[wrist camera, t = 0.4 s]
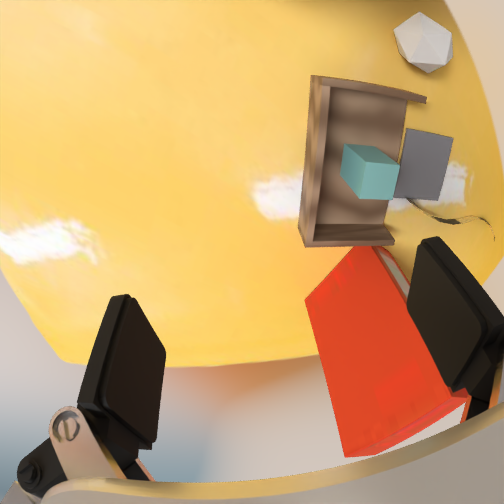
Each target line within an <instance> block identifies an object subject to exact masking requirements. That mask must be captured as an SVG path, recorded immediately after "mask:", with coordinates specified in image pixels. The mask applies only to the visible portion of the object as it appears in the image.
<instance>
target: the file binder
mask: <svg viewBox="0 0 504 504" xmlns="http://www.w3.org/2000/svg"><path fill="white" fill-rule="evenodd" d="M409 288H410V283H409V281H408V280H407V278H406V276H405V275H404V273H403V272H402V270H401V269H400V267H399V266H398V264H397V263H396V261H395V260H394V258H393V257H392V255H391V254H390V253H389V251H387V250H386V249H384V248H383V247H381V246H354V247H353V248H352V249H351V250H350V252H349V253H348V254H347V255H346V256H345V257H344V258H343V259H342V261H341V262H340V263H339V264H338V265H337V266H336V267H335V268H334V269H333V270H332V271H331V273H330V274H329V275H328V276H327V277H326V278H325V279H324V280H323V281H322V282H321V283H320V284H319V285H318V287H317V288H316V289H315V290H314V291H313V292H312V293H311V294H310V295H309V296H308V297H307V298H306V299H305V304H306V307H307V311H308V314H309V318H310V322H311V325H312V329H313V332H314V336H315V340H316V344H317V347H318V351H319V355H320V359H321V362H322V366H323V370H324V374H325V377H326V382H327V386H328V389H329V394H330V398H331V401H332V406H333V409H334V414H335V418H336V422H337V426H338V431H339V435H340V439H341V443H342V448H343V452H344V456H345V457H359V456H368V455H376V454H378V453H380V452H382V451H384V450H386V449H388V448H390V447H392V446H394V445H396V444H398V443H400V442H402V441H404V440H406V439H407V438H409V437H411V436H413V435H414V434H416V433H418V432H420V431H422V430H423V429H425V428H427V427H428V426H430V425H432V424H433V423H435V422H436V421H438V420H439V419H441V418H443V417H444V416H446V415H447V414H449V413H450V412H452V411H453V410H455V409H456V408H458V407H459V406H460V405H462V404H463V403H465V402H466V400H467V396H468V392H467V390H466V388H463V389H461V390H459V391H456V392H454V393H453V392H452V390H451V388H450V387H447V386H446V385H445V383H444V381H443V379H442V377H441V375H440V373H439V371H438V369H437V367H436V364H435V362H434V360H433V358H432V356H431V354H430V352H429V350H428V348H427V346H426V345H425V343H424V341H423V339H422V337H421V335H420V333H419V331H418V329H417V327H416V326H415V324H414V322H413V320H412V318H411V316H410V315H409V313H408V311H407V306H406V302H407V297H408V293H409Z"/></svg>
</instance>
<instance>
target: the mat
mask: <svg viewBox="0 0 504 504" xmlns="http://www.w3.org/2000/svg"><path fill="white" fill-rule="evenodd" d="M452 143H453V138H451V137H447V136H443V135H438V134H434V133H429V132H424V131H419V130H414V129H408V128H406V134H405V140H404V145H403V151H402V156H401V161H400V168H399V173H398V177H397V182H396V186H395V191H394V195H393V197H394V198H405V197H406V198H408V199H424V200H437V201H438V198H439V195H440V191H441V188H442V184H443V180H444V177H445V173H446V169H447V165H448V160H449V156H450V152H451V147H452ZM404 196H405V197H404Z"/></svg>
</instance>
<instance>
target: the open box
mask: <svg viewBox="0 0 504 504" xmlns="http://www.w3.org/2000/svg"><path fill="white" fill-rule="evenodd" d="M407 99H408V100H412V101H416V102H421V103H425V104H426V99H427V97H425V96H422V95H419V94H416V93H412V92H409V91H406V90H401V89H397V88H392V87H387V86H383V85H377V84H372V83H366V82H361V81H354V80H348V79H341V78H333V77H325V76H315V75H311V81H310V98H309V112H308V126H307V139H306V151H305V162H304V173H303V183H302V193H301V203H300V212H299V222H298V229H299V232H300V235H301V237H302V240H303V243H304V246H305V247H345V246H389V245H394V242H395V239H394V238H393V237H392V235H391V234H390V233H389V231H388V230H387V229H386V227H385V226H384V225H383V221H384V217H385V213H386V209H387V205H388V201H389V200H380V199H359V198H358V196H357V195H356V194H355V193H354V191H353V190H352V189H351V188H350V187H349V185H348V184H347V183H346V182H345V181H344V179H343V178H342V177H341V176H340V171H341V164H342V156H343V148H344V143H345V144H356V145H366V146H375V147H376V148H378V149H379V150H380V151H382V152H383V153H384V154H386V155H387V156H388V157H390V158H391V159H392V160H394V161H395V162H396V163H397V160H398V155H399V149H400V144H401V138H402V132H403V126H404V119H405V113H406V105H407Z"/></svg>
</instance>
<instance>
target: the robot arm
mask: <svg viewBox="0 0 504 504" xmlns="http://www.w3.org/2000/svg"><path fill="white" fill-rule="evenodd" d="M406 306H407V311H408V313H409V315H410V316H411V318H412V320H413V322H414V324H415V326H416V327H417V329H418V331H419V333H420V335H421V337H422V339H423V341H424V343H425V345H426V346H427V348H428V350H429V352H430V354H431V356H432V358H433V360H434V362H435V364H436V367H437V369H438V371H439V373H440V375H441V377H442V379H443V381H444V383H445V385H446V386H447V387H450V388H451V390H452V392H453V393H454V392H456V391H459V390H461V389H463V388H466V390H467V392H468V396H467V400H466V404H465V407H464V411H463V414H462V418H461V421H460V424H458V425H456V426H454V427H452V428H449V429H447V430H445V431H443V432H440V433H438V434H436V435H434V436H431V437H429V438H426V439H424V440H421V441H419V442H416V443H414V444H411V445H408V446H405V447H403V448H400V449H397V450H394V451H391V452H388V453H385V454H382V455H378V456H376V457H372V458H368V459H365V460H361V461H358V462H354V463H350V464H346V465H342V466H338V467H334V468H329V469H325V470H320V471H315V472H309V473H304V474H298V475H292V476H285V477H278V478H270V479H260V480H250V481H238V482H219V483H218V482H216V483H180V482H156V481H155V480H154V478H153V477H152V476H151V474H150V473H149V472H148V470H147V469H146V468H145V466H144V465H143V464H142V462H141V461H140V459H139V458H138V451H139V449H146V450H152V443H154V442H155V441H156V438H157V429H158V419H159V409H160V400H161V391H162V383H163V375H164V368H165V361H166V351H165V348H164V346H163V344H162V343H161V341H160V340H159V338H158V336H157V335H156V333H155V331H154V330H153V328H152V326H151V325H150V323H149V321H148V319H147V318H146V316H145V314H144V313H143V311H142V309H141V307H140V305H139V304H138V302H137V300H136V299H135V298H131V296H130V295H129V294H124V295H118V296H113V297H111V299H110V301H109V304H108V306H107V309H106V312H105V315H104V317H103V320H102V323H101V326H100V328H99V331H98V334H97V337H96V340H95V343H94V346H93V349H92V352H91V355H90V359H89V362H88V365H87V369H86V372H85V375H84V379H83V382H82V385H81V389H80V392H79V397H78V400H77V403H78V405H77V408H75V407H72V406H68V407H63V408H61V409H59V410H58V411H57V412H56V413H55V414H54V416H53V417H52V419H51V421H50V424H49V435H50V437H49V438H48V439H47V440H46V441H44V442H43V443H42V444H41V445H39V446H38V447H37V448H36V449H34V450H33V451H32V452H31V453H29V454H28V455H27V456H26V457H24V458H23V459H22V460H21V462H20V464H19V466H18V470H17V478H18V482H17V481H14V483H13V484H12V486H11V487H10V489H9V490H8V492H7V493H6V495H5V497H4V498H3V500H2V501H1V503H0V504H504V316H503V315H502V313H501V312H500V310H499V309H498V308H497V306H496V305H495V304H494V302H493V301H492V299H491V298H490V297H489V295H488V294H487V293H486V292H485V290H484V289H483V288H482V286H481V285H480V284H479V283H478V281H477V280H476V279H475V278H474V276H473V275H472V274H471V273H470V271H469V270H468V269H467V268H466V267H465V265H464V264H463V263H462V262H461V261H460V260H459V258H458V257H457V256H456V255H455V254H454V253H453V251H452V250H451V249H450V248H449V247H448V246H447V245H446V244H445V242H444V241H443V240H442V239H441V238H440V237H437V236H436V237H431V238H426V239H423V240H422V241H421V244H420V245H418V247H417V252H416V258H415V263H414V269H413V274H412V279H411V284H410V288H409V293H408V297H407V302H406Z"/></svg>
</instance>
